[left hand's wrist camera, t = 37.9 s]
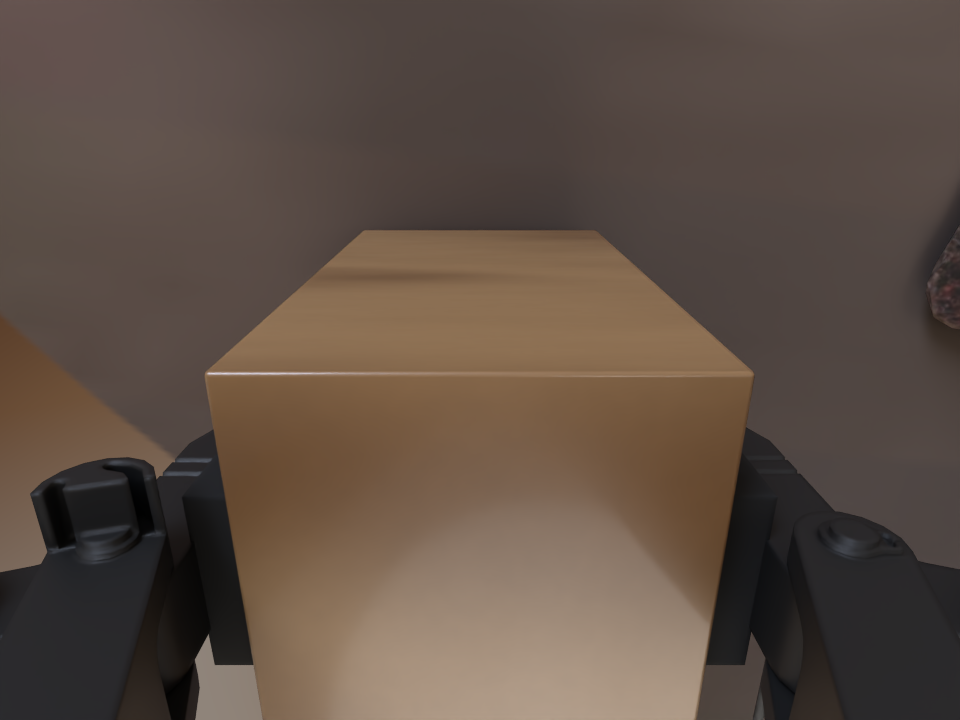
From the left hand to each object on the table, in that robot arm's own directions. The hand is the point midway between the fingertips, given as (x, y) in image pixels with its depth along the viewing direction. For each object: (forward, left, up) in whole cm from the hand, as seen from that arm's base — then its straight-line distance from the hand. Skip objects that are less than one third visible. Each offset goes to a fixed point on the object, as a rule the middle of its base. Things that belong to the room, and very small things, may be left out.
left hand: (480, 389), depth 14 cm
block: (0, 0, -3) cm, 3 cm away
